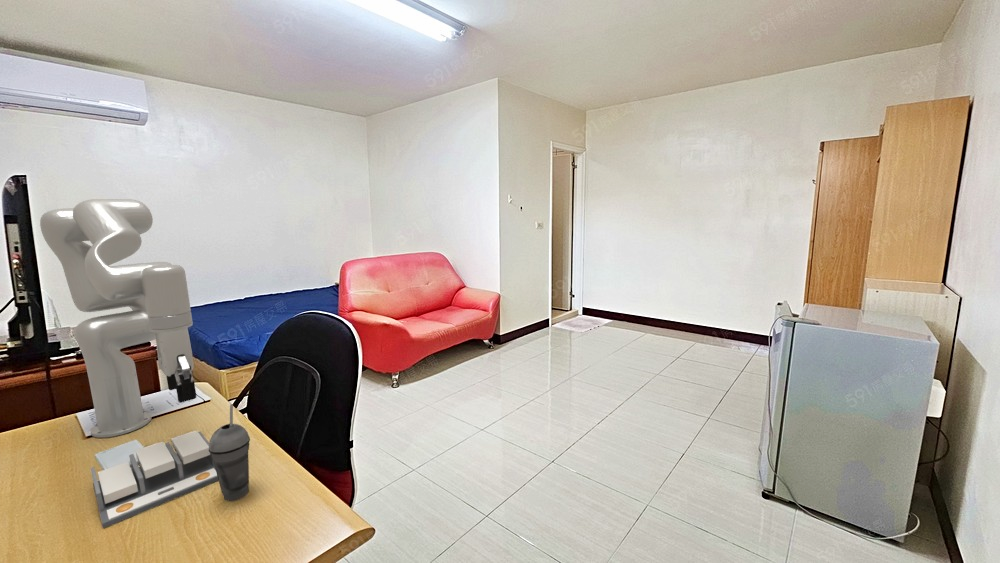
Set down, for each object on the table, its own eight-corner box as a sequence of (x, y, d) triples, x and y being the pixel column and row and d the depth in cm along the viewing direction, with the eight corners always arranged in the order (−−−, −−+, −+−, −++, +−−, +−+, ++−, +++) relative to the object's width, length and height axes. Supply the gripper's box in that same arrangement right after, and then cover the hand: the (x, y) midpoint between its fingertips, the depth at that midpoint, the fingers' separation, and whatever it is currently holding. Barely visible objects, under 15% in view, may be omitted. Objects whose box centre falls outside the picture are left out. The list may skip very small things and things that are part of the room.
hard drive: (94, 454, 101) (107, 472, 94) (137, 438, 108) (152, 455, 101) (95, 460, 102) (108, 479, 94) (138, 444, 108) (153, 461, 101)
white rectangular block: (137, 460, 95) (135, 450, 94) (164, 451, 98) (163, 441, 98) (146, 482, 87) (144, 470, 87) (175, 471, 91) (174, 460, 90)
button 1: (99, 483, 90) (97, 472, 90) (130, 472, 94) (128, 461, 94) (105, 507, 83) (103, 495, 82) (138, 494, 87) (136, 483, 86)
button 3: (172, 448, 100) (171, 438, 99) (197, 439, 103) (196, 430, 103) (184, 467, 92) (182, 457, 92) (210, 457, 96) (209, 447, 95)
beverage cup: (219, 488, 90) (207, 401, 87) (258, 479, 93) (248, 395, 89) (212, 510, 83) (198, 417, 80) (253, 499, 86) (242, 409, 83)
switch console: (93, 487, 91) (89, 467, 90) (202, 448, 105) (200, 430, 105) (103, 528, 79) (98, 506, 78) (224, 477, 93) (222, 458, 93)
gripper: (142, 318, 95) (154, 389, 98) (157, 332, 84) (170, 411, 86) (182, 312, 100) (192, 379, 103) (201, 324, 89) (212, 399, 92)
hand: (182, 394), depth 95 cm, fingers open, 9 cm apart
